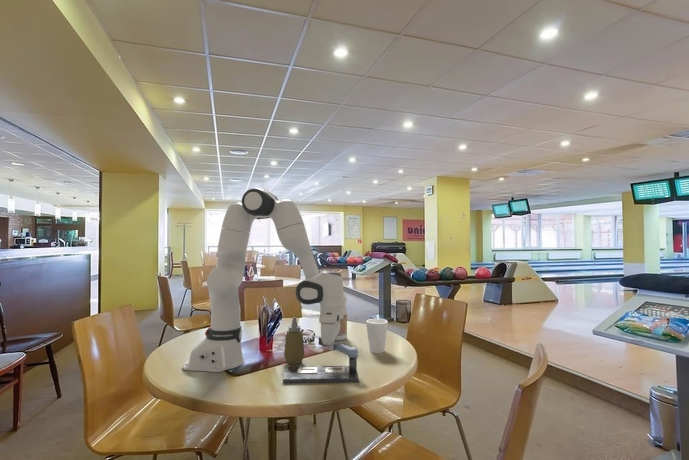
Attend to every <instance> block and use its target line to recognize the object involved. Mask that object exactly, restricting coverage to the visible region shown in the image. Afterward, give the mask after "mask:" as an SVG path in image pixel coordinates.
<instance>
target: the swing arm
mask: <svg viewBox="0 0 689 460" xmlns="http://www.w3.org/2000/svg"><path fill="white" fill-rule="evenodd" d="M318 346H322V347H323V348H325V347H327V348H329V345H323V344H322V339H321V336H319V337H318ZM333 351H337V352H339V353H341V354H345V355H347V357H348V358H349V357H350V358H356V357H357V358H358V356H359V348H357V347H351V346H349V345H346V344H343V343H341V342H339V341H337V340H335V345H334V350H333Z"/></svg>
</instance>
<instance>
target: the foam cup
mask: <svg viewBox="0 0 689 460" xmlns="http://www.w3.org/2000/svg"><path fill="white" fill-rule="evenodd" d="M388 322H389V321H388V320H387V319H383V318H382V319H381V318H370V319H367V320H366V321H365V323H366V324H365V325H366V326H365V327H366V331H367V332H366V333H367V339H368V347H369V352H371V353H374V354H382V353H384V352H385V349H386V348H385V347H386V339H387V332H388V326H389V323H388Z"/></svg>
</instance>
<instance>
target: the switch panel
mask: <svg viewBox="0 0 689 460" xmlns="http://www.w3.org/2000/svg"><path fill="white" fill-rule="evenodd" d="M357 361H358V357H356V358H350V357H348V365H308V366H307V365H301V366H300V365H299V366H297V365H290V366H286V368H285V372H284V374H283V378H282V384H340V383H341V384H342V383H343V384H349V383H350V384H351V383H356V384H357V383H359V382H360V381H359V379H360V378H359V373H358V369H357V367H358V366H357V364H358V362H357Z"/></svg>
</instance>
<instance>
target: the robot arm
mask: <svg viewBox="0 0 689 460" xmlns="http://www.w3.org/2000/svg"><path fill="white" fill-rule="evenodd" d="M302 217H303V216H302V214H301V212H300V210H299V207H298V206H297V204H296V203H295V202H294V201H293V200H290V199H282V200H279V199H278V196H276V195H274V194H273V193H271V192H270V191H268V190H266V189H263V188H260V187H258V188H257V187H253V188H250V189H248V190H246V191H245V192H244V194H243V195H242V197H241V202H234V203H232V204H230V205H228V207H227V210H226V212H225V215H224V217H223V222H222V225H221V229H220V234H219V239H218V244H217V264H216V267H214V268H213V269H212V270H211V271H210V272H209V274H208V275H207V278H206V286H207V289H208V297H209V303H210V326H209V327H208V328H207V329H206V331H204V335H205V338H204V339H203V340H201V341H200V342H199V343H198V344H196V345H195V346H193V348H192V349H191V352H190V353H189V354H190V355H189V358H188V359H187V360H186V361H185V362H184V363H183V364H182V369H183V370H184V371H192V372H193V371H194V372H195V371H197V372H212V373H221V372H224V371H227V370H231V369H235V368H237V367H240V366H241V365H243V364H244V363H245V358H244V355H243V350H242V349H243V348H242V343H241V341H242V337H243V335H242V334H243V331H242V326H241V304H240V297H239V296H240V295H239V287H240V286H241V285H242V283H243V280H244V274H245V268H246V260H247V259H246V256H247V250H248V245H249V240H250V235H251V230H252V226H253V222H254V221H255V220H265V219H270V220H272V223H273V224H274V227H275V230H276V233H277V237H278V239H279V242H280V244H281V245H282V247H283V248H284V249H285V250H287V251H289V252H290V253H292V254H293V255H294V256H295V257H297V259H298V261H299V263H300V266H301V269H302V271H303V275H304V276H305V277H304V278H305V279H304V280H302V281H300V282H299V283H298V284H297V286H296V288H295V291H294V292H295V297H296V299H297V301H298V302H299V303H301V304H303V305H314V304H320V305H319V306H320V307H319V317H318V322H319V323H320V337H321V339H322V344H323V345H329V347H328V351H335V350H334V345H335V341H336V340H335V338H336V336H337V335H338V333H339V331H340V319H342V318H343V301H342V297H343V293H344V282H343V281H344V280H343V276H342V274H340V273H339V271H338V272H337V271H336V270H335V271H334V270H327V269H325V270H323V271H320V268H319V265H318V263H317V260H316V258H315V255H314V252H313V250H312V247H311V244H310V240H309V237H308V233H307V230H306V226H305V223H304V220H303V218H302Z"/></svg>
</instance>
